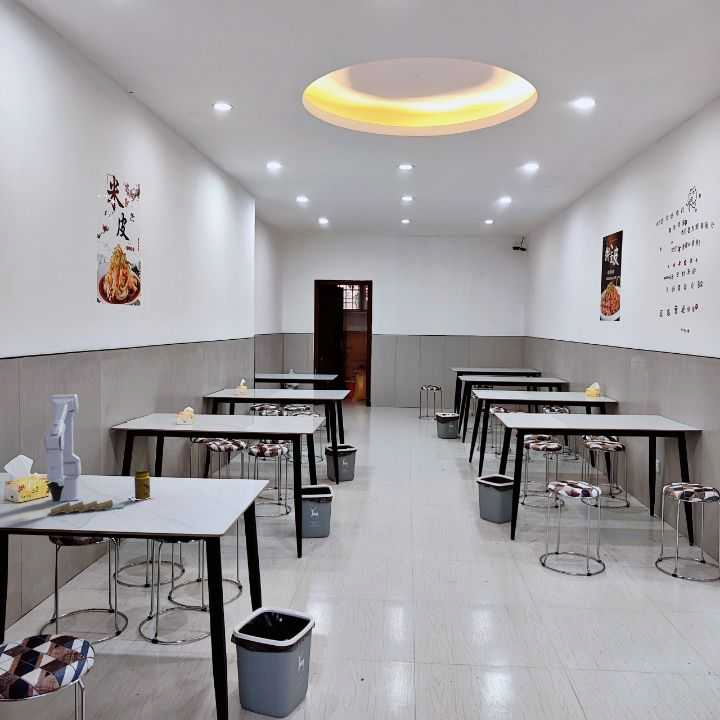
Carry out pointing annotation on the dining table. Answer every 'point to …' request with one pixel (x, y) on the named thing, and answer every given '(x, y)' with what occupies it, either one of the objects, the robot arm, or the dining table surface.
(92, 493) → the dining table surface
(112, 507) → the domino
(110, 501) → the domino
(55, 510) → the domino
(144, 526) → the dining table surface
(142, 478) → the condiment
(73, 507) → the domino
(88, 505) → the domino
